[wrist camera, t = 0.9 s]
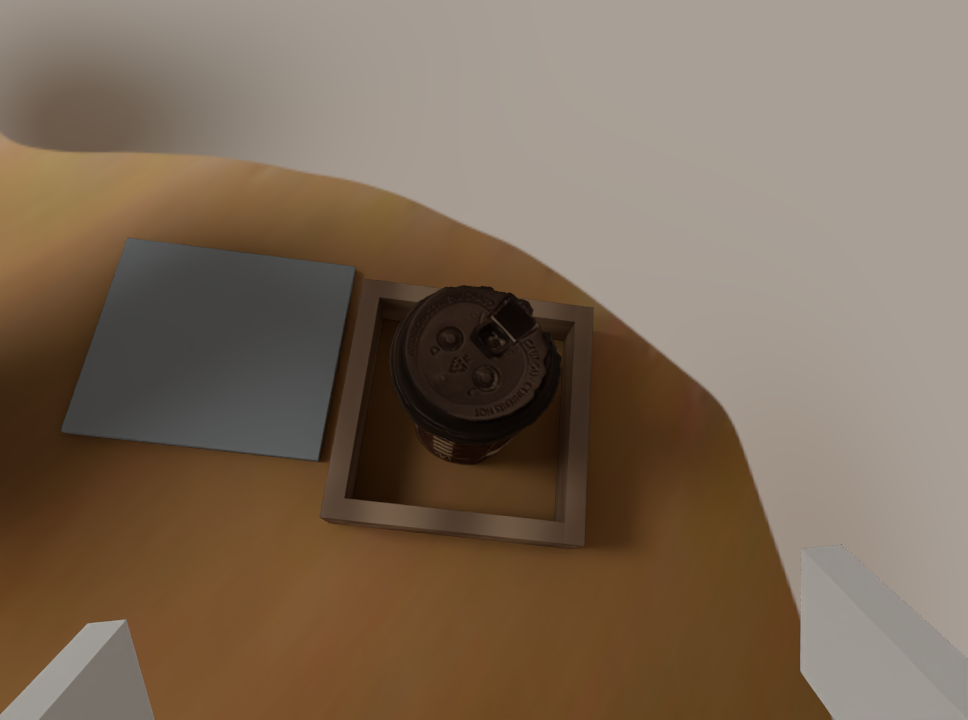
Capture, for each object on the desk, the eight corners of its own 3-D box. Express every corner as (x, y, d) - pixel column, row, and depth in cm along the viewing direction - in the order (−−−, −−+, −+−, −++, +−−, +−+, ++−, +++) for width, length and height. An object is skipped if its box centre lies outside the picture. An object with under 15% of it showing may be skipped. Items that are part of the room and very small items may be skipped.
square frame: (328, 522, 38) (319, 517, 35) (368, 301, 44) (363, 278, 40) (571, 548, 39) (584, 545, 36) (581, 327, 44) (593, 307, 41)
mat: (65, 433, 39) (60, 431, 38) (131, 242, 44) (127, 237, 43) (319, 461, 40) (317, 460, 39) (355, 270, 44) (355, 266, 44)
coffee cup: (523, 359, 43) (560, 271, 31) (532, 477, 40) (577, 432, 28) (398, 361, 42) (387, 272, 30) (399, 482, 40) (386, 438, 27)
